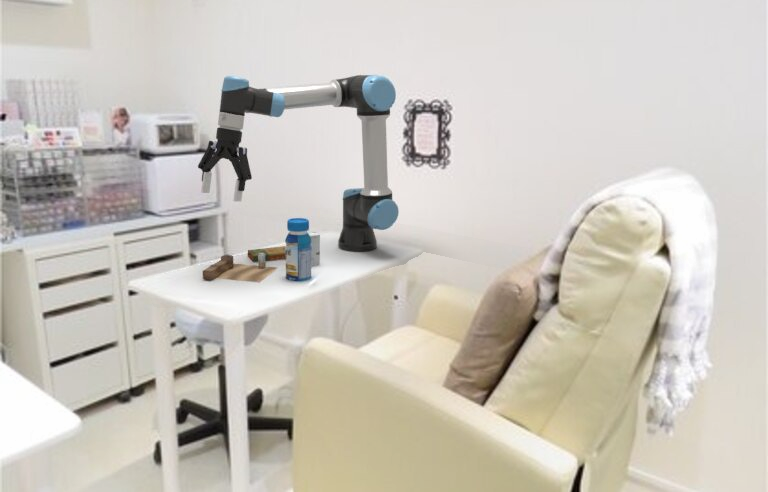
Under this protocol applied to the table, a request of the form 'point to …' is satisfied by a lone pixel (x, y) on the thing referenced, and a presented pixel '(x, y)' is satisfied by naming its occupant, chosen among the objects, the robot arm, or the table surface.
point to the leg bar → (218, 267)
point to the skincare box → (315, 249)
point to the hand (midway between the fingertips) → (221, 197)
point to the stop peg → (261, 261)
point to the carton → (268, 253)
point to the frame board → (246, 273)
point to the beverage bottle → (298, 250)
